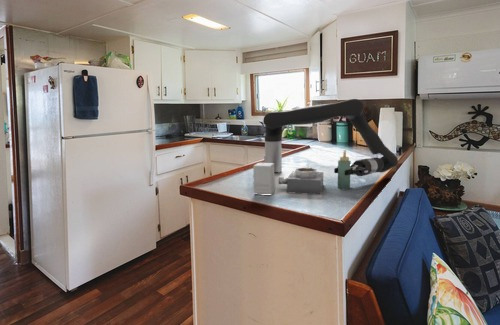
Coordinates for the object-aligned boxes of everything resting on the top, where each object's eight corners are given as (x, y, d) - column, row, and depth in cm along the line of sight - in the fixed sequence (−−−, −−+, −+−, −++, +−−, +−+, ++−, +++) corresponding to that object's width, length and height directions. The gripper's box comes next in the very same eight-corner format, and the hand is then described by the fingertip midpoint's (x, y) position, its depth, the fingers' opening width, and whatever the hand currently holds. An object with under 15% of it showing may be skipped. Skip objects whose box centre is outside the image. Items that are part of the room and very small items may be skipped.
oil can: (337, 188, 136) (338, 151, 133) (337, 185, 141) (338, 149, 138) (349, 189, 134) (351, 151, 131) (349, 186, 139) (350, 149, 136)
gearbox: (275, 191, 133) (275, 172, 132) (282, 183, 148) (282, 165, 147) (320, 194, 128) (320, 174, 126) (323, 185, 143) (323, 166, 141)
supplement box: (275, 191, 134) (274, 162, 132) (270, 196, 127) (270, 166, 125) (258, 190, 136) (258, 162, 134) (253, 195, 130) (252, 165, 127)
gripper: (352, 157, 149) (327, 161, 140) (379, 161, 137) (354, 165, 128) (352, 172, 150) (327, 177, 141) (378, 177, 139) (353, 183, 130)
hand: (340, 171), depth 135 cm, fingers closed on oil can, 5 cm apart
